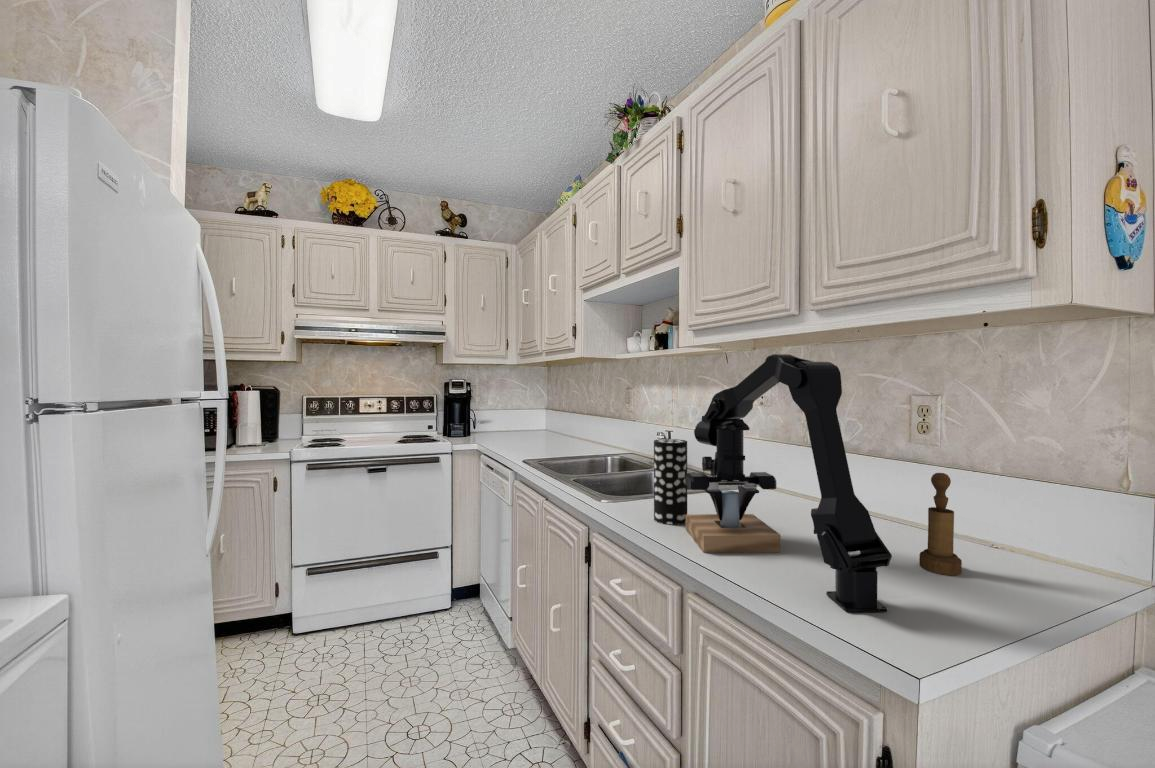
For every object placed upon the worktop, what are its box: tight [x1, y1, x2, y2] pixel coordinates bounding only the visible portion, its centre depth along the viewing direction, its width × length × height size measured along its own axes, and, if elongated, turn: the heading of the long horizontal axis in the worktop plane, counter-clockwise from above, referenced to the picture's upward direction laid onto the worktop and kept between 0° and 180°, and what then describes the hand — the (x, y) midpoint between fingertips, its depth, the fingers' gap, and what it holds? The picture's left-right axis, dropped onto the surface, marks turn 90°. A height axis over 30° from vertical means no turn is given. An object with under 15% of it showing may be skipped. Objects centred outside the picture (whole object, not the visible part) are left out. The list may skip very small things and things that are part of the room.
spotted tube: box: [653, 438, 688, 526], centre depth 129 cm, size 8×8×20 cm
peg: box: [721, 490, 739, 528], centre depth 113 cm, size 4×4×9 cm
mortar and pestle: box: [918, 472, 963, 576], centre depth 96 cm, size 7×6×18 cm
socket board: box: [685, 513, 782, 554], centre depth 113 cm, size 16×16×4 cm
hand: (729, 519), depth 113 cm, fingers closed on peg, 4 cm apart
